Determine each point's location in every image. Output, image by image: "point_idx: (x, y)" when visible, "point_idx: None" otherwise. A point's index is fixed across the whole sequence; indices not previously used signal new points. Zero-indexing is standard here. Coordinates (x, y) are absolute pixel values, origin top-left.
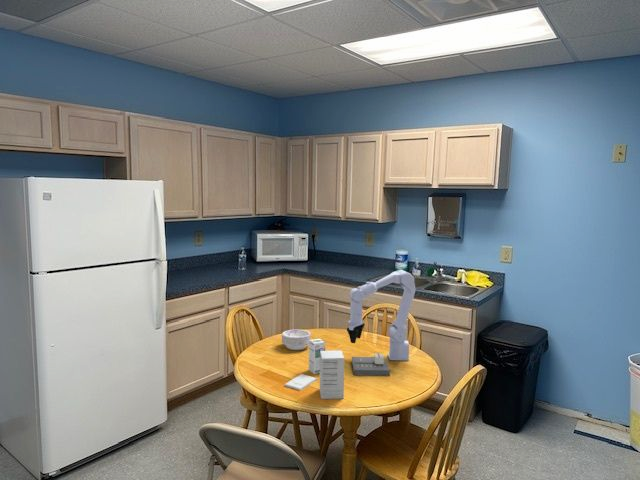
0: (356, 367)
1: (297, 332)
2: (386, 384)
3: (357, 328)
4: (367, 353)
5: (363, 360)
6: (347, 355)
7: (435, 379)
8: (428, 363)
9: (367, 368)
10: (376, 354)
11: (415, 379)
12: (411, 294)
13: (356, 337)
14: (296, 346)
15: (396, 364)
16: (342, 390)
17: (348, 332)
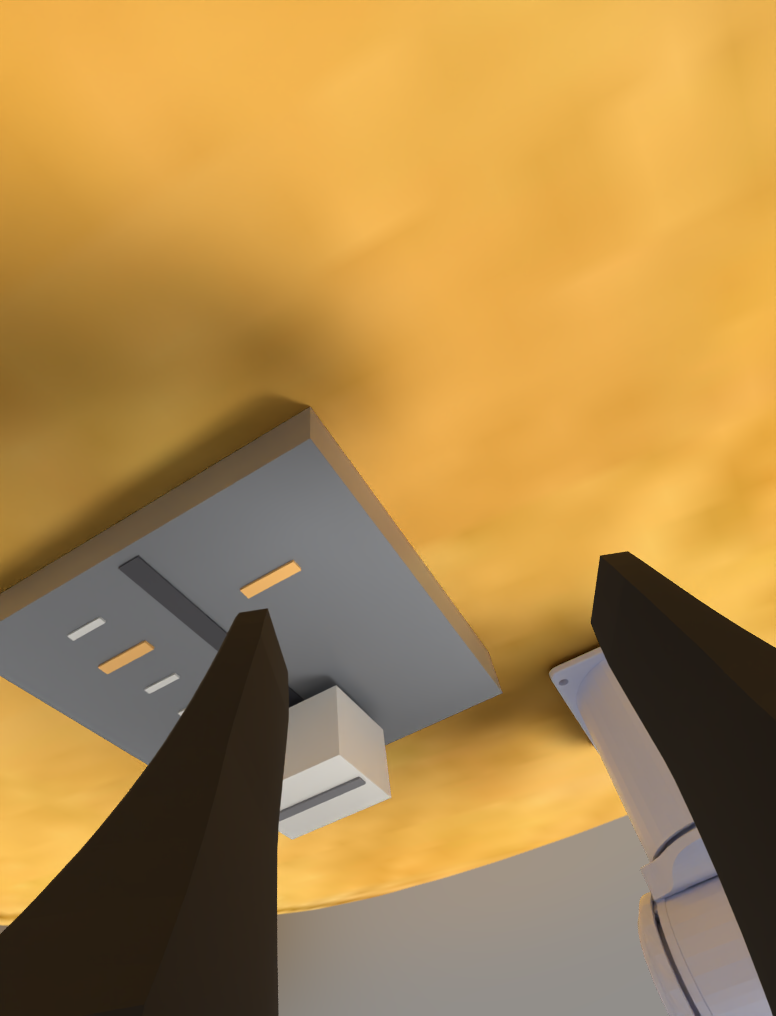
0: (32, 635)
1: None
2: (72, 808)
3: (756, 797)
4: (675, 438)
5: (286, 601)
6: (505, 235)
7: (364, 897)
8: (594, 818)
9: (113, 709)
10: (329, 777)
11: (293, 858)
12: None
13: (602, 573)
14: None
15: (483, 723)
16: None
17: (39, 912)
